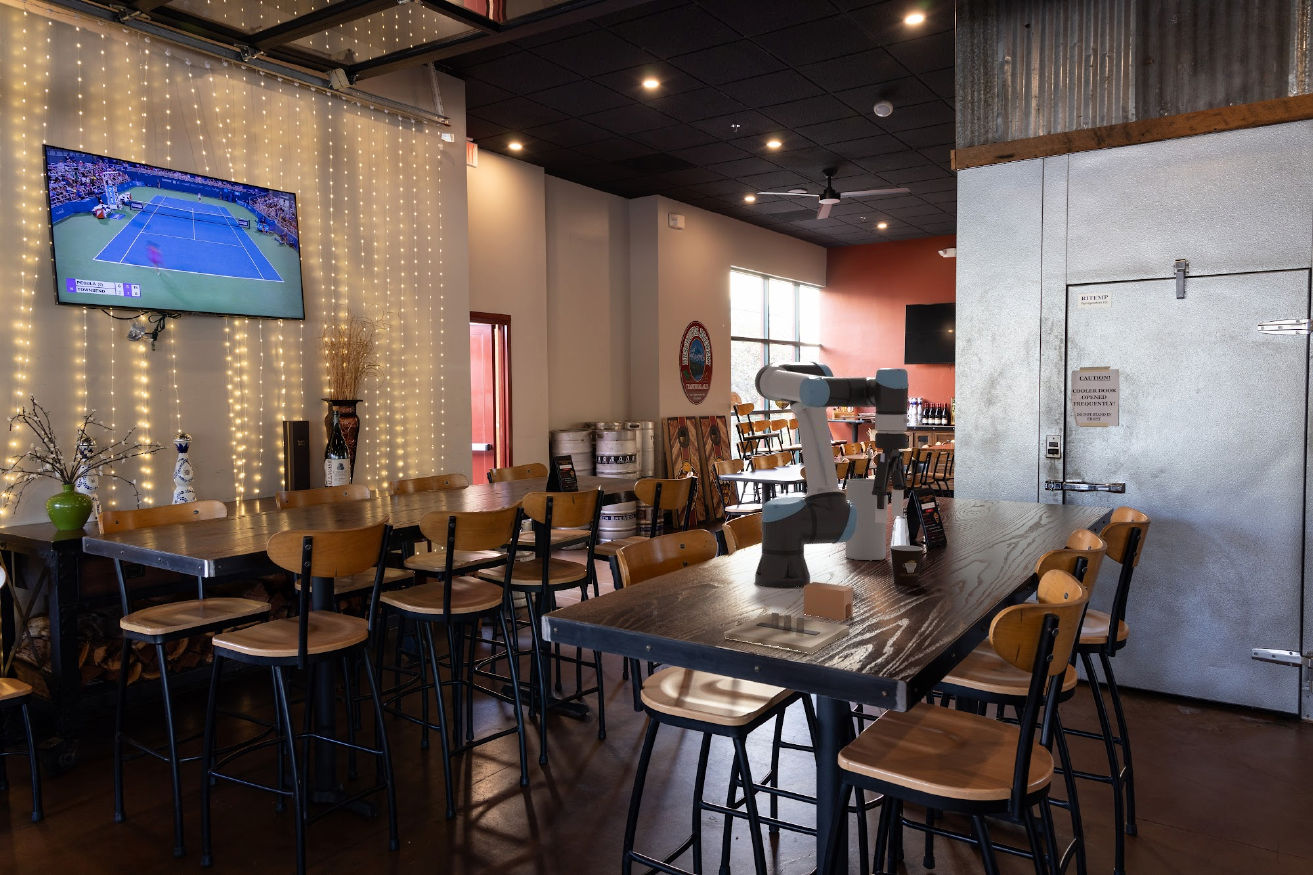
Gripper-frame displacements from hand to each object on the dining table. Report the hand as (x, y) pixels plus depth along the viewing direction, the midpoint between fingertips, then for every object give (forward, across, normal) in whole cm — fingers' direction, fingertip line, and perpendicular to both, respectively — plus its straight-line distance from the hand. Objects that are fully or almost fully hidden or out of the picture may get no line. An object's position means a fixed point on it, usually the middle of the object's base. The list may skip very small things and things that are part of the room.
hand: (889, 519), depth 214 cm
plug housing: (+22, -15, +10) cm, 28 cm away
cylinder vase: (+22, +63, +25) cm, 72 cm away
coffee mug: (+22, +31, +2) cm, 38 cm away
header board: (+22, -37, +11) cm, 44 cm away
